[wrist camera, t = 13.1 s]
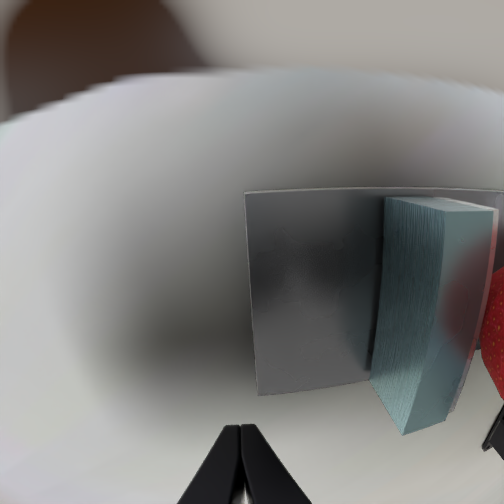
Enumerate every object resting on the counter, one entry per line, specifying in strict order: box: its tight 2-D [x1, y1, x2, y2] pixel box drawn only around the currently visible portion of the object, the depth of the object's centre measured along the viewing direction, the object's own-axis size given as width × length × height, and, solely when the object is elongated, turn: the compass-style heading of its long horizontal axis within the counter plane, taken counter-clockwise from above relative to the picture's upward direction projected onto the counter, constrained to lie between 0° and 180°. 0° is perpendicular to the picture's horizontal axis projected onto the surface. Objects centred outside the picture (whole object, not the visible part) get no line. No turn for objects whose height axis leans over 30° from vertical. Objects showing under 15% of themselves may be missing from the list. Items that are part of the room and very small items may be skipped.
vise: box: [243, 187, 504, 396], centre depth 10 cm, size 16×8×5 cm, turn 93°
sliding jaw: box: [369, 197, 499, 435], centre depth 9 cm, size 2×8×4 cm, turn 4°
